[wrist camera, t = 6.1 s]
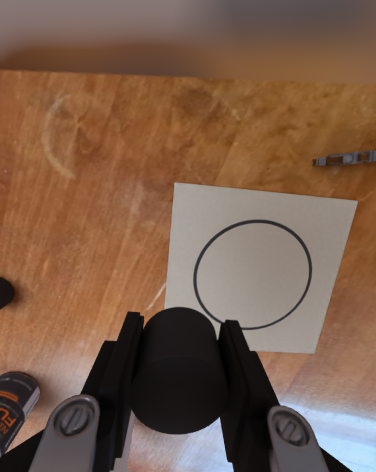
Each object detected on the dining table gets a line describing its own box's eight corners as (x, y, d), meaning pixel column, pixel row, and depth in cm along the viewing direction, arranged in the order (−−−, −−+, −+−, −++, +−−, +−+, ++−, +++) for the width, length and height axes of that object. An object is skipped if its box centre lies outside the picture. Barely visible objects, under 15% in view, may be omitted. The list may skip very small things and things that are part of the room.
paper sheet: (174, 182, 24) (174, 182, 24) (356, 200, 25) (358, 200, 25) (161, 344, 29) (161, 346, 29) (313, 352, 30) (314, 354, 30)
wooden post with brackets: (306, 153, 23) (356, 146, 19) (355, 148, 26) (406, 141, 22) (306, 172, 23) (354, 169, 19) (353, 165, 26) (403, 161, 22)
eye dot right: (144, 302, 10) (130, 351, 8) (221, 309, 11) (237, 358, 8) (138, 367, 11) (125, 433, 8) (210, 372, 12) (221, 437, 9)
